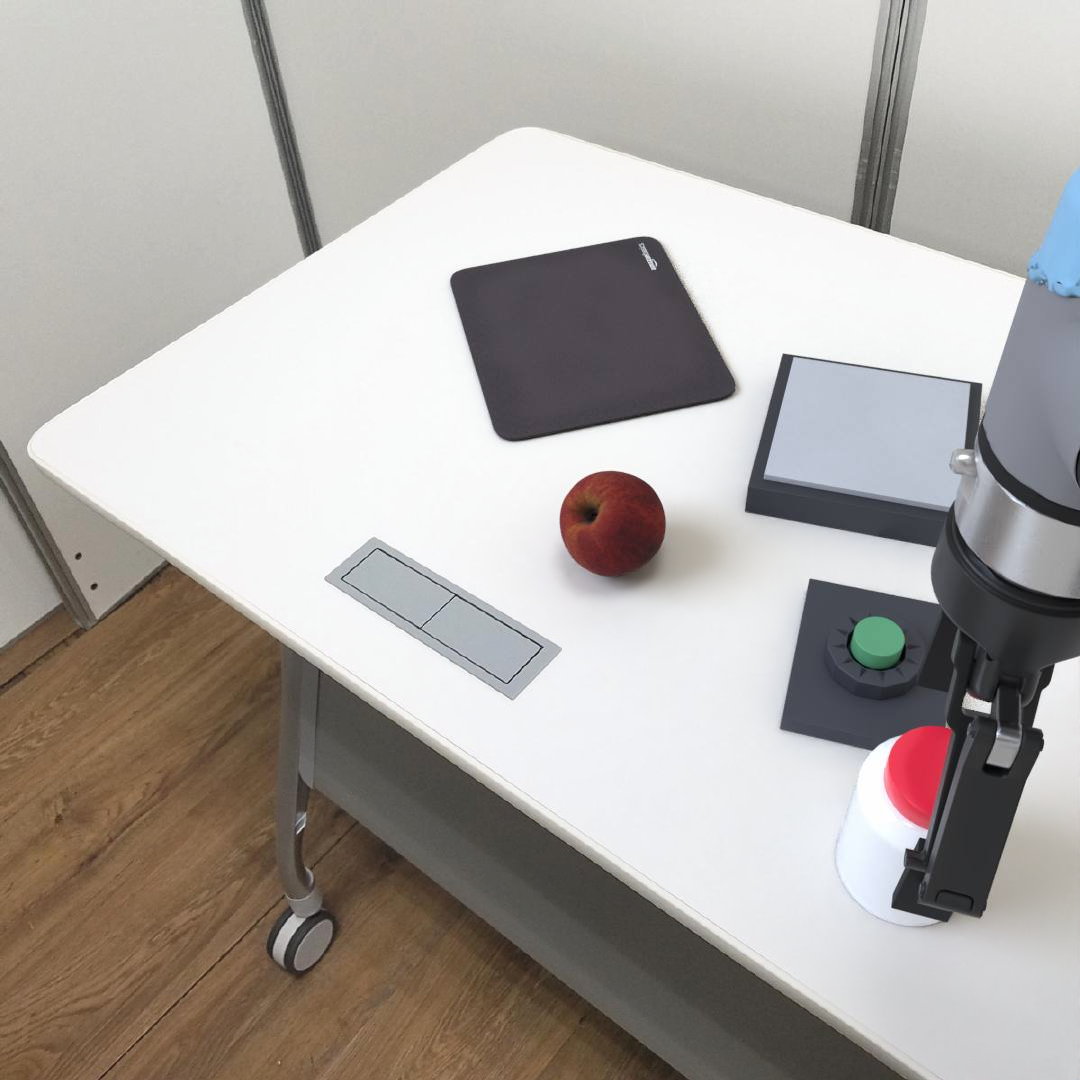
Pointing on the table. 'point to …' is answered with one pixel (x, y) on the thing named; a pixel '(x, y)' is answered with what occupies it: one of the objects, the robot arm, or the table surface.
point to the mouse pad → (586, 338)
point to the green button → (877, 642)
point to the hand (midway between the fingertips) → (930, 789)
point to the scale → (862, 448)
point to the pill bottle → (890, 818)
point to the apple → (612, 523)
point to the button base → (859, 669)
